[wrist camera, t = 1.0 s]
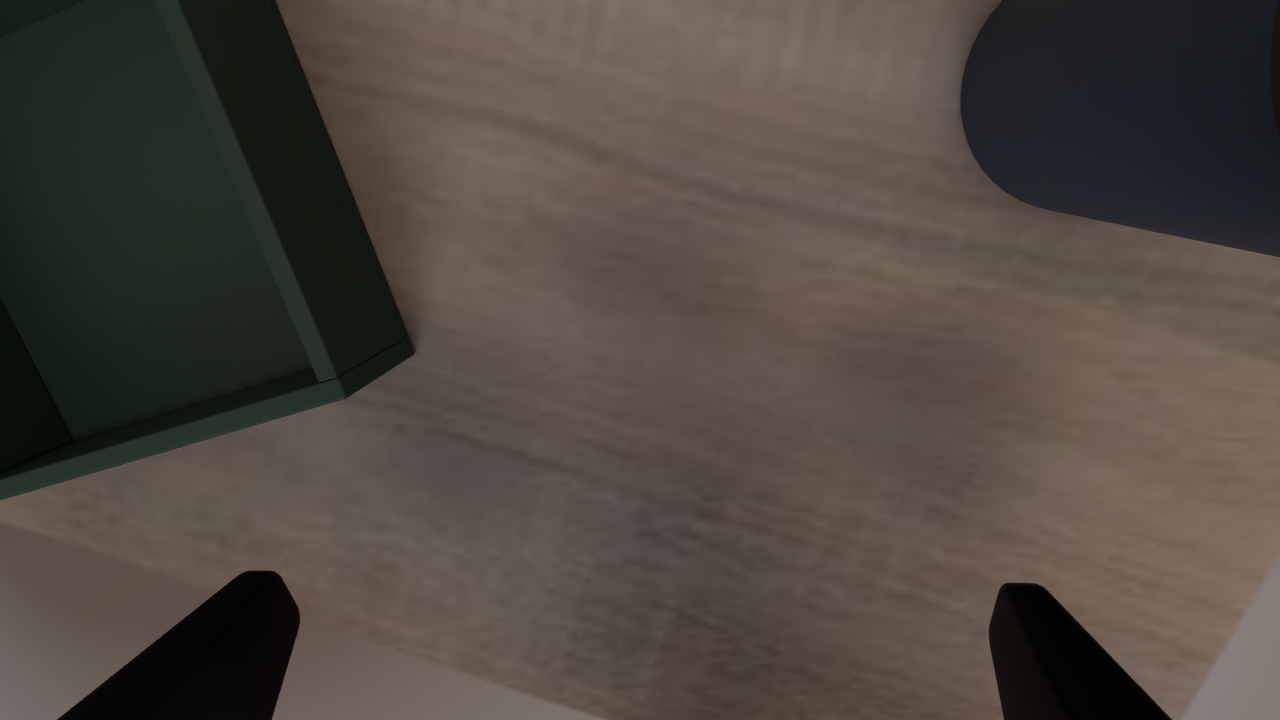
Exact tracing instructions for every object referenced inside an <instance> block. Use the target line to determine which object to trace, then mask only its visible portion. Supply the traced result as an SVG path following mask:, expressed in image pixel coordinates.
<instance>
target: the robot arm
mask: <svg viewBox="0 0 1280 720" xmlns="http://www.w3.org/2000/svg"><path fill="white" fill-rule="evenodd" d="M299 624H300V613H299V609H298V606H297V604H296V603H295V601H294V599H293V597H292V595H291V594H290V592H289V590H288V588H287V586H286V585H285V583H284V581H283V579H282V578H281V576H280V575H279V574H278V573H276V572H274V571H246V572H244V573H242V574H240V575H238V576H237V577H236V578H234V579H233V580H232V581H231V582H229V583H228V584H227V585H226V586H224V587H223V588H222V589H221V590H219V591H218V592H217V593H215V594H214V595H213V596H212V597H210V598H209V599H208V600H207V601H206V602H204V603H203V604H202V605H200V606H199V607H198V608H197V609H196V610H194V611H193V612H192V613H190V614H189V615H188V616H187V617H185V618H184V619H183V620H182V621H180V622H179V623H178V624H177V625H175V626H174V627H173V628H172V629H170V630H169V631H168V632H167V633H165V634H164V635H163V636H162V637H160V638H159V639H158V640H157V641H155V642H154V643H153V644H152V645H150V646H149V647H148V648H146V649H145V650H144V651H143V652H141V653H140V654H139V655H138V656H136V657H135V658H134V659H133V660H131V661H130V662H129V663H128V664H126V665H125V666H124V667H123V668H121V669H120V670H119V671H118V672H116V673H115V674H114V675H113V676H111V677H110V678H109V679H108V680H106V681H105V682H104V683H103V684H101V685H100V686H99V687H98V688H96V689H95V690H94V691H93V692H91V693H90V694H89V695H87V696H86V697H85V698H84V699H83V700H81V701H80V702H79V703H78V704H76V705H75V706H74V707H72V708H71V709H70V710H69V711H68V712H66V713H65V714H64V715H62V716H61V717H60V718H59V719H57V720H272V717H273V713H274V710H275V707H276V703H277V700H278V696H279V693H280V690H281V686H282V683H283V680H284V676H285V673H286V670H287V666H288V663H289V660H290V656H291V653H292V649H293V646H294V643H295V639H296V636H297V632H298V629H299ZM989 642H990V649H991V654H992V659H993V664H994V669H995V674H996V680H997V685H998V690H999V695H1000V700H1001V705H1002V711H1003V716H1004V720H1172V719H1171V718H1170V717H1169V716H1168V715H1167V714H1166V713H1165V712H1164V711H1163V710H1162V709H1161V708H1160V707H1159V706H1158V705H1157V704H1156V703H1155V702H1154V701H1153V700H1152V699H1151V697H1150V696H1149V695H1148V694H1147V693H1146V692H1145V691H1144V690H1143V689H1142V688H1141V687H1140V686H1139V685H1138V684H1137V683H1136V682H1135V681H1134V680H1133V679H1132V678H1131V677H1130V676H1129V675H1128V674H1127V673H1126V672H1125V670H1124V669H1123V668H1122V667H1121V666H1120V665H1119V664H1118V663H1117V662H1116V661H1115V660H1114V659H1113V658H1112V657H1111V656H1110V655H1109V654H1108V653H1107V652H1106V651H1105V650H1104V649H1103V648H1102V647H1101V646H1100V645H1099V643H1098V642H1097V641H1096V640H1095V639H1094V638H1093V637H1092V636H1091V635H1090V634H1089V633H1088V632H1087V631H1086V630H1085V629H1084V628H1083V627H1082V626H1081V625H1080V624H1079V623H1078V622H1077V621H1076V620H1075V619H1074V618H1073V616H1072V615H1071V614H1070V613H1069V612H1068V611H1067V610H1066V609H1065V608H1064V607H1063V606H1062V605H1061V604H1060V603H1059V602H1058V601H1057V600H1056V599H1055V598H1054V597H1053V596H1052V595H1051V594H1050V593H1049V592H1048V591H1047V590H1046V589H1045V588H1044V587H1042V586H1041V585H1039V584H1035V583H1005V584H1003V585H1002V586H1001V588H1000V590H999V593H998V596H997V600H996V603H995V607H994V611H993V614H992V618H991V621H990V626H989Z"/></svg>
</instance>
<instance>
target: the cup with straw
mask: <svg viewBox="0 0 1280 720" xmlns="http://www.w3.org/2000/svg"><path fill="white" fill-rule="evenodd" d="M961 113H962V120H963V127H964V130H965V134H966V137H967V141H968V143H969V146H970V148H971V150H972V152H973V155H974V157H975V158H976V160H977V161H978V163H979V164H980V166H981V168H982V169H983V170H984V171H985V173H986V174H987V175H988V176H989V177H990V178H991V179H992V181H994V182H995V183H996V184H997V185H998V186H999V187H1001V188H1002V189H1003V190H1004V191H1006V192H1007V193H1009V194H1010V195H1012V196H1013V197H1015V198H1017V199H1019V200H1021V201H1023V202H1025V203H1028V204H1030V205H1033V206H1036V207H1040V208H1043V209H1047V210H1052V211H1057V212H1061V213H1066V214H1071V215H1076V216H1081V217H1086V218H1091V219H1096V220H1100V221H1105V222H1110V223H1115V224H1120V225H1125V226H1130V227H1135V228H1139V229H1144V230H1149V231H1154V232H1159V233H1164V234H1169V235H1174V236H1178V237H1183V238H1188V239H1193V240H1198V241H1203V242H1208V243H1213V244H1217V245H1222V246H1227V247H1232V248H1237V249H1242V250H1247V251H1252V252H1256V253H1261V254H1266V255H1271V256H1276V257H1280V0H1003V1H1002V3H1001V4H1000V5H999V6H998V7H997V8H996V10H995V11H994V12H993V13H992V14H991V16H990V17H989V19H988V20H987V22H986V23H985V25H984V26H983V28H982V29H981V31H980V33H979V35H978V37H977V39H976V41H975V43H974V45H973V47H972V50H971V53H970V55H969V58H968V60H967V64H966V68H965V72H964V76H963V83H962V91H961Z"/></svg>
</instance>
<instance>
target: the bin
mask: <svg viewBox="0 0 1280 720" xmlns="http://www.w3.org/2000/svg"><path fill="white" fill-rule="evenodd" d="M414 354H415V353H414V350H413V347H412V345H411V342H410V340H409V337H408V335H407V332H406V330H405V327H404V325H403V322H402V320H401V317H400V315H399V312H398V310H397V307H396V305H395V302H394V300H393V297H392V295H391V292H390V290H389V287H388V285H387V282H386V280H385V277H384V275H383V272H382V270H381V267H380V265H379V262H378V260H377V257H376V255H375V252H374V250H373V247H372V245H371V242H370V240H369V237H368V235H367V232H366V230H365V227H364V225H363V222H362V219H361V217H360V214H359V212H358V209H357V207H356V204H355V202H354V199H353V197H352V194H351V192H350V189H349V187H348V184H347V182H346V179H345V177H344V174H343V172H342V169H341V167H340V164H339V162H338V159H337V157H336V154H335V152H334V149H333V147H332V144H331V142H330V139H329V137H328V134H327V132H326V129H325V127H324V124H323V122H322V119H321V117H320V114H319V112H318V109H317V107H316V104H315V102H314V99H313V97H312V94H311V92H310V89H309V86H308V84H307V81H306V79H305V76H304V74H303V71H302V69H301V66H300V64H299V61H298V59H297V56H296V54H295V51H294V49H293V46H292V44H291V41H290V39H289V36H288V34H287V31H286V29H285V26H284V24H283V21H282V19H281V16H280V14H279V11H278V9H277V6H276V4H275V1H274V0H0V500H3V499H6V498H10V497H13V496H17V495H20V494H23V493H27V492H30V491H34V490H37V489H40V488H44V487H47V486H50V485H54V484H57V483H61V482H64V481H67V480H71V479H74V478H78V477H81V476H84V475H88V474H91V473H95V472H98V471H101V470H105V469H108V468H112V467H115V466H118V465H122V464H125V463H128V462H132V461H135V460H139V459H142V458H145V457H149V456H152V455H156V454H159V453H162V452H166V451H169V450H173V449H176V448H179V447H183V446H186V445H190V444H193V443H196V442H200V441H203V440H207V439H210V438H213V437H217V436H220V435H223V434H227V433H230V432H234V431H237V430H240V429H244V428H247V427H251V426H254V425H257V424H261V423H264V422H268V421H271V420H274V419H278V418H281V417H285V416H288V415H291V414H295V413H298V412H301V411H305V410H308V409H312V408H315V407H318V406H322V405H325V404H329V403H332V402H335V401H339V400H342V399H346V398H347V397H349V396H350V395H352V394H354V393H355V392H357V391H358V390H360V389H361V388H363V387H364V386H366V385H368V384H369V383H371V382H372V381H374V380H375V379H377V378H378V377H380V376H381V375H383V374H385V373H386V372H388V371H389V370H391V369H392V368H394V367H395V366H397V365H399V364H400V363H402V362H403V361H405V360H406V359H408V358H409V357H411V356H413V355H414Z"/></svg>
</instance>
